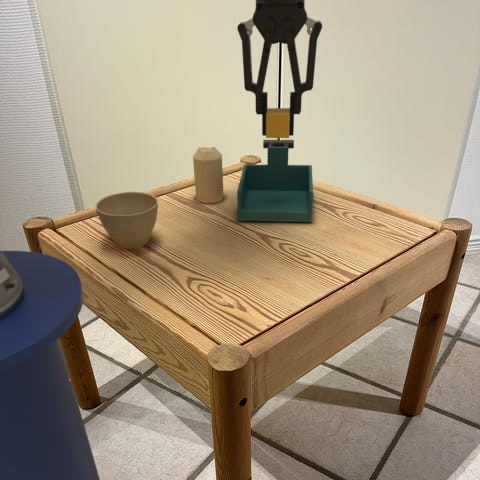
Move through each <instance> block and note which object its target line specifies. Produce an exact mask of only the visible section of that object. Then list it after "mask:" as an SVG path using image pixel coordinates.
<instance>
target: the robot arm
mask: <svg viewBox="0 0 480 480" xmlns="http://www.w3.org/2000/svg"><path fill="white" fill-rule="evenodd" d="M305 3H306V1H305V0H255V10H254V12H253V14H252V18H250V19H248V20H246V21H244V22H243V21H241V22H240V23H238V25H237V27H236V28H237V32H238V35H239V37H240V41H241V50H242V68H243V83H244V84H243V85H244V87H243V88H244V90H245V91H246V92H251V93H253V94H254V96H255V114H256V115H261V136H263V137H264V136H265V137H266V113H267V109H268V97H269V96H268V91H264V87H265V82H266V76H267V71H268V67H269V62H270V61H269V60H270V55H271V50H272V45H276V44H279V43H280V44H283V45H287V46H286V47H287V48H286V49H287V53H288V58H289V65H290V72H291V78H292V84H293V89H294V90H293V91H290V92H289V93H290V94H289V108H290V127H289V137H291V136H294V131H295V130H294V128H295V115H300V114H301V112H302V98H303V94H304V93H306V92H308V91H312V90H313V88H314V80H315V68H316V56H317V48H318V47H317V46H318V39H319V36H320V34H321V32H322V29H323V23H322V21H321V20H316V19H313V18H311V17H309V16H308V12H307V10H306V7H305ZM254 26H255V28H256V30H257V31H258V33H259V34H260V35H261V37H262V39H263V45H262V52H261V57H260V58H261V59H260V63H259V69H258V73H257V80H256V82H254V80H253V61H252V44H251V43H252V40H251V36H252V35H253V34H254V33H253V32H254ZM304 26H306V33H307V35H309V37H308V49H307V58H306V59H307V60H306V73H305V81H304V82H302V80H301V72H300V67H299V66H300V65H299V58H298V52H297V46H296V38H297V36H298V35H299V34H300V32H301V30H302V29H303V28H304ZM1 251H2V250H0V320H2V319H3V318H5V317H6V316H8V315H9V314H11V313H12V312H13V311H14V310H15V309H16V308H17V307H18V306H19V305H20V304H21V302H22V300H23V298H24V295H25V290H24V287H23V284H22V280H21V278H20V276H19V275H18V273H17V272H16V270H15V269H14V268H13V266H12V265H11V264H10V262H9V261H8V260H7V259H6V257H5V256H4V255H3V253H2V252H1Z"/></svg>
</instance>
